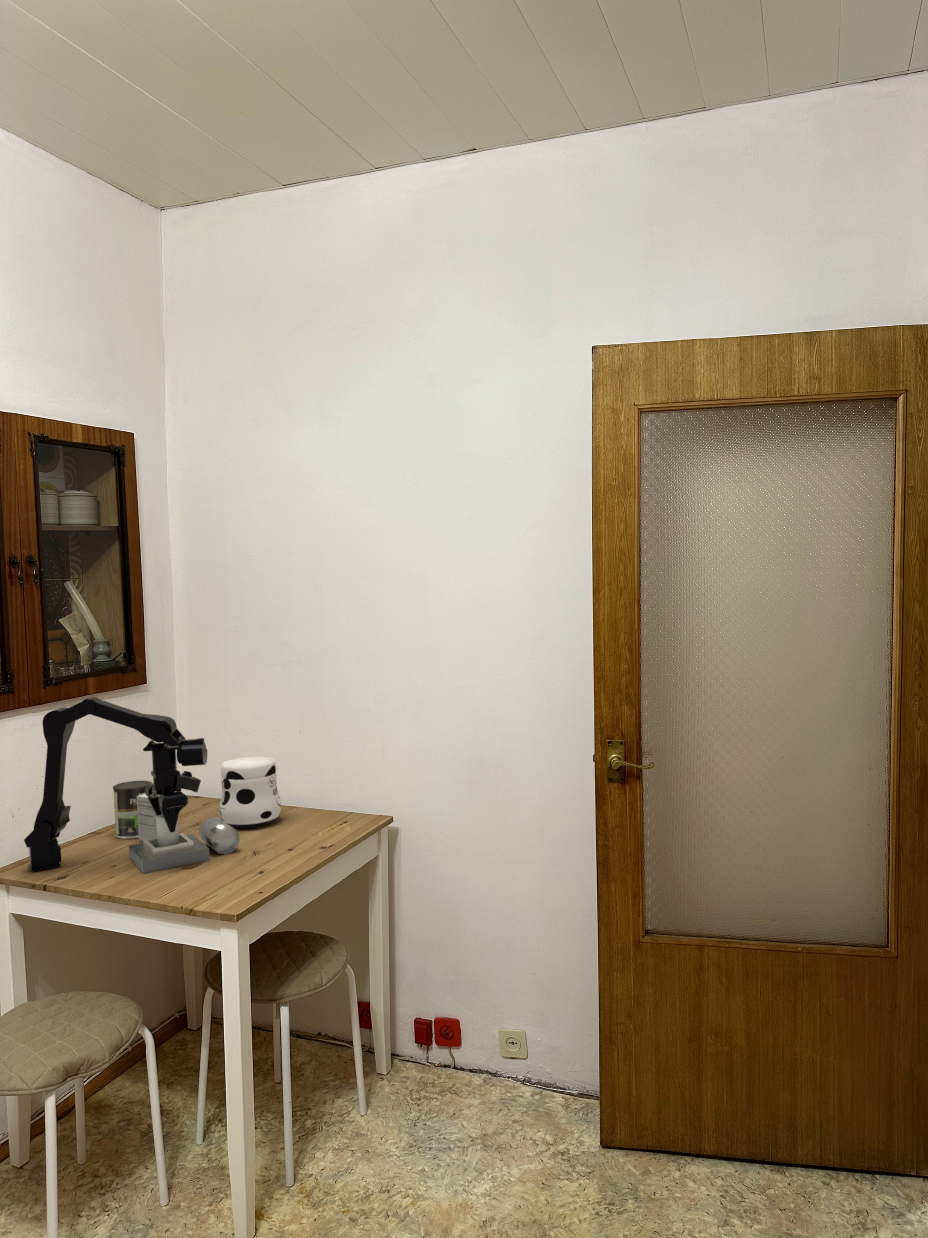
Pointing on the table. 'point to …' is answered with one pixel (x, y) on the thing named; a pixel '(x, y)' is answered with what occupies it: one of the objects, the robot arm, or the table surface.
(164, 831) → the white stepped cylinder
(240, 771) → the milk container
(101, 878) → the table surface
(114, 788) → the coffee can
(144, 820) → the supplement box
